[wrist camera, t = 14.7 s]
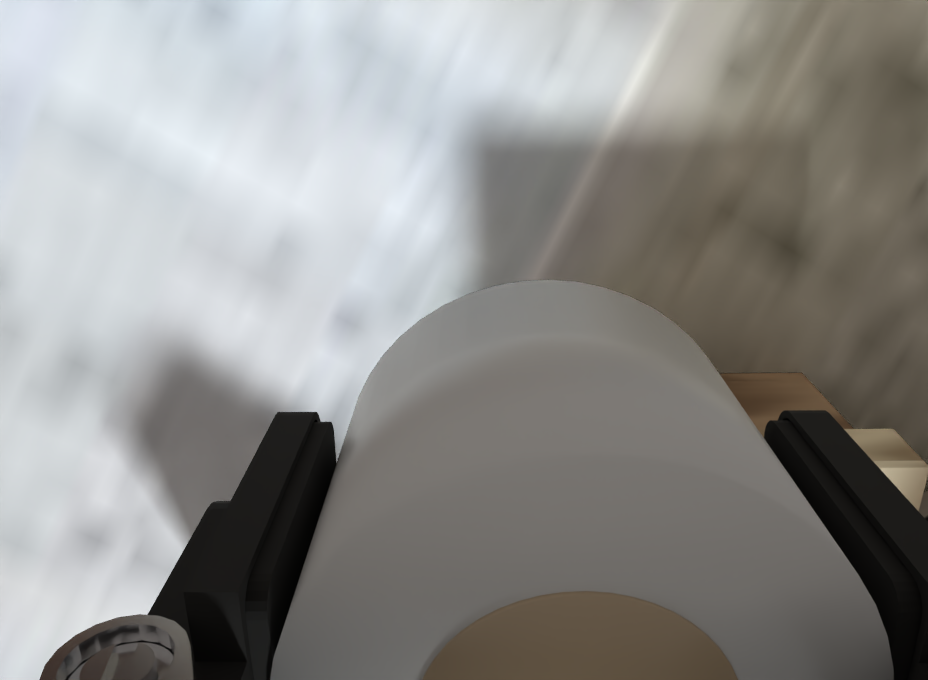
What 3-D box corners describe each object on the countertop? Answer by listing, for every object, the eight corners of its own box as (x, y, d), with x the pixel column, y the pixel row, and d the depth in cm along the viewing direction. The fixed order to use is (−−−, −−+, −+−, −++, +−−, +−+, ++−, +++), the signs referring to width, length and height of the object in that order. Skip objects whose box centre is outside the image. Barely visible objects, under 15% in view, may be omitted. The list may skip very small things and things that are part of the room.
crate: (801, 372, 34) (894, 472, 27) (771, 567, 38) (844, 702, 30) (540, 374, 34) (560, 474, 27) (536, 569, 38) (551, 703, 31)
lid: (893, 428, 27) (929, 467, 25) (837, 669, 32) (864, 720, 30) (545, 431, 28) (552, 469, 25) (537, 670, 32) (542, 720, 30)
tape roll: (762, 282, 11) (963, 462, 7) (712, 625, 14) (838, 946, 9) (337, 277, 11) (237, 452, 7) (355, 619, 14) (289, 933, 9)
